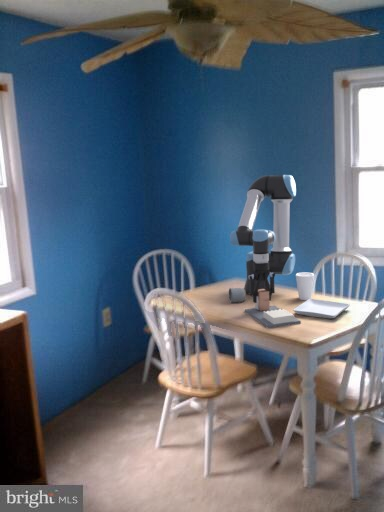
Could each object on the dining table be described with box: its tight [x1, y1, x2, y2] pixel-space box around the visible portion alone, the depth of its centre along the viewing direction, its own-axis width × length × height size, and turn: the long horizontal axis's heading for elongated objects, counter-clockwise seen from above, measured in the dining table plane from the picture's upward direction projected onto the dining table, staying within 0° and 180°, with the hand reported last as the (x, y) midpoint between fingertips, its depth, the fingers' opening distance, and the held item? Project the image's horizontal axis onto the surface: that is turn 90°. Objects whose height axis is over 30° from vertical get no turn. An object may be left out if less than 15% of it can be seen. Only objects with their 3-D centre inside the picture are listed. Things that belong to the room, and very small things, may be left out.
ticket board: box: [243, 304, 302, 329], centre depth 251 cm, size 28×16×4 cm, turn 16°
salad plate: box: [292, 298, 351, 320], centre depth 255 cm, size 21×21×3 cm
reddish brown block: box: [257, 289, 270, 311], centre depth 260 cm, size 6×5×9 cm
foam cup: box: [295, 271, 315, 301], centre depth 280 cm, size 10×9×13 cm
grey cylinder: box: [228, 287, 247, 304], centre depth 282 cm, size 11×8×8 cm
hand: (262, 308), depth 261 cm, fingers closed on reddish brown block, 5 cm apart
